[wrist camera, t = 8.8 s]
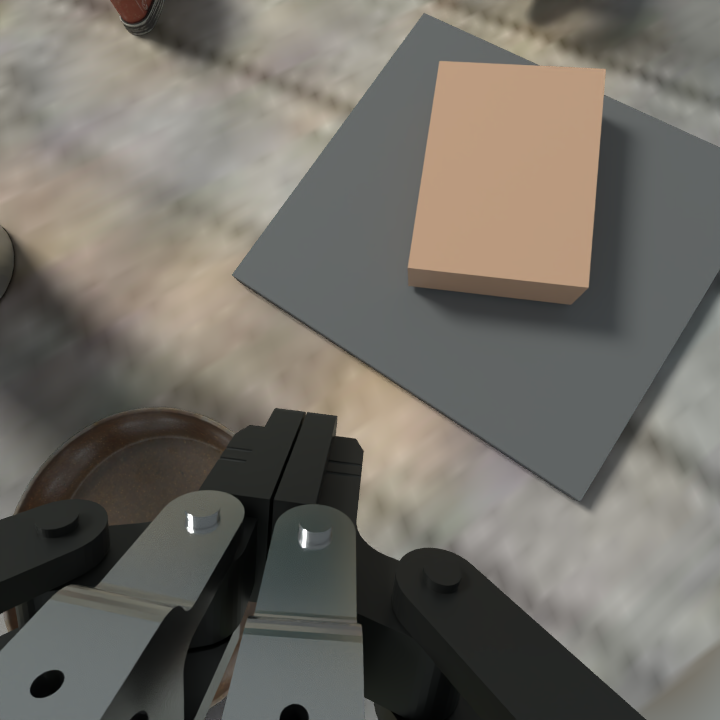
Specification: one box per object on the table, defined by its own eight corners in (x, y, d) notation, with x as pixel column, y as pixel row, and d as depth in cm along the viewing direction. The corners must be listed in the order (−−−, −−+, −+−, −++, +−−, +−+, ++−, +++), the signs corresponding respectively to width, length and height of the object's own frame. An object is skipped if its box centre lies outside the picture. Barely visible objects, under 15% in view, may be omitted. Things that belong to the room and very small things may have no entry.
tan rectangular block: (588, 287, 26) (605, 68, 29) (407, 267, 28) (439, 60, 30) (569, 306, 29) (586, 109, 32) (408, 288, 31) (436, 100, 33)
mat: (237, 280, 33) (231, 274, 32) (423, 25, 36) (424, 13, 35) (574, 499, 28) (580, 501, 27) (765, 182, 31) (777, 173, 30)
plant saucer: (287, 394, 32) (274, 387, 29) (316, 690, 28) (305, 718, 25) (41, 430, 33) (4, 427, 30) (37, 716, 29) (-6, 745, 26)
